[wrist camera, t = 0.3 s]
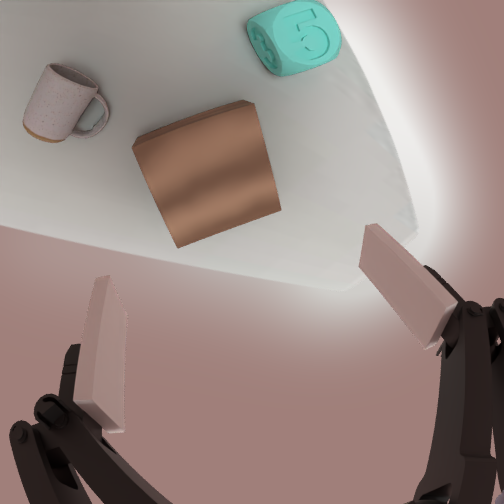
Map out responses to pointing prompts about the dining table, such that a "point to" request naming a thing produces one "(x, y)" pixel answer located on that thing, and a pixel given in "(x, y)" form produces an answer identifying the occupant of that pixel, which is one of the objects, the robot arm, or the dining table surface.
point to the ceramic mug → (61, 104)
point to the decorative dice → (295, 37)
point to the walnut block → (209, 172)
